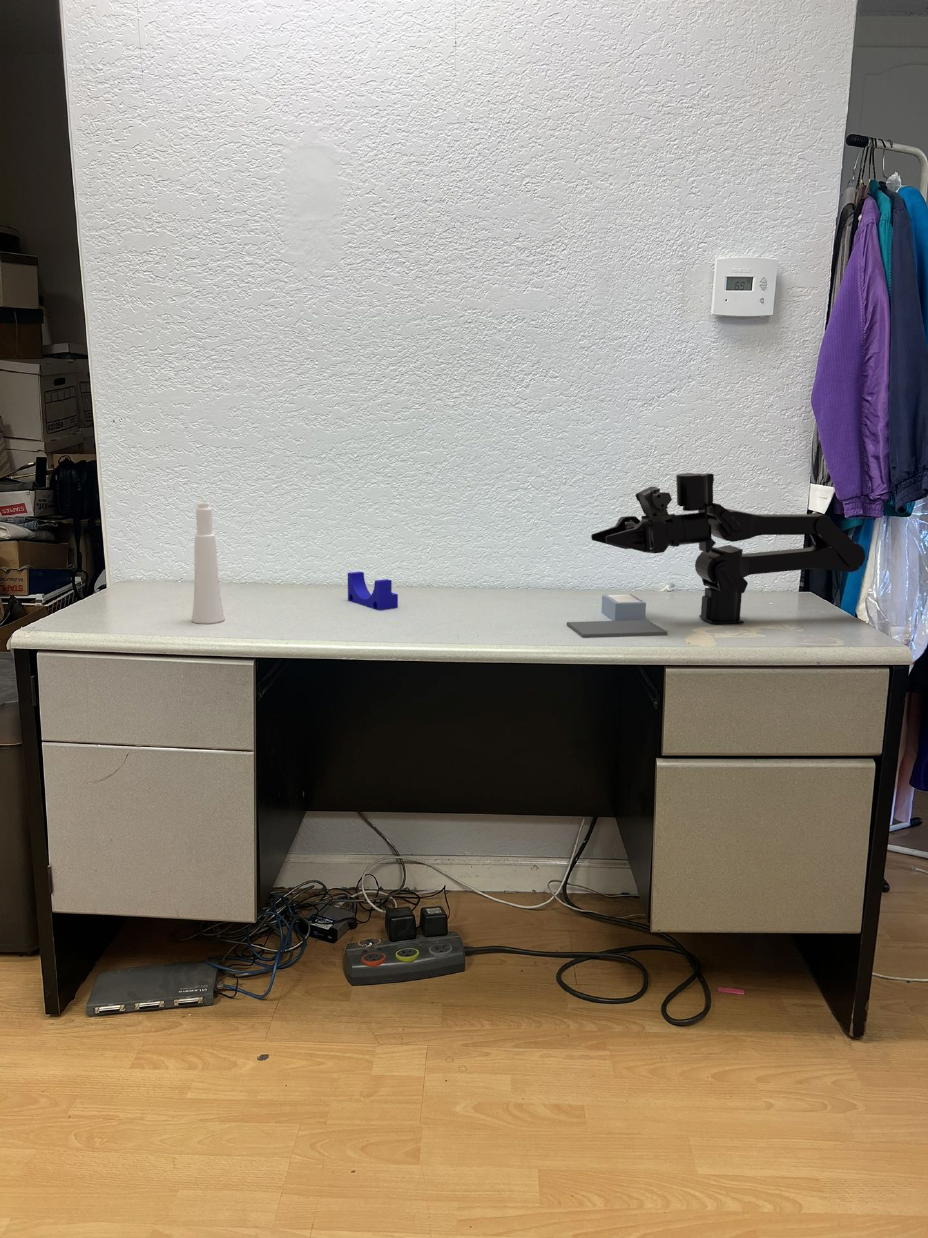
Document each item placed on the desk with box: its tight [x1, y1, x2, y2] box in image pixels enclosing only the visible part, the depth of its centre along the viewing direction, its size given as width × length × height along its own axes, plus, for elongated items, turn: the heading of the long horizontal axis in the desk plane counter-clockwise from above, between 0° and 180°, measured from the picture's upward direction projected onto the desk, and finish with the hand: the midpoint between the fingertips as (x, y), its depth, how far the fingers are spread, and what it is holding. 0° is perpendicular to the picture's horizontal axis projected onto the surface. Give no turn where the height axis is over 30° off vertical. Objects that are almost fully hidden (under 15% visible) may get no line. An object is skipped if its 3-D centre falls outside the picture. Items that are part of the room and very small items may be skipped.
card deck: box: [600, 593, 647, 621], centre depth 194 cm, size 6×9×4 cm, turn 8°
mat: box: [566, 619, 669, 638], centre depth 184 cm, size 16×10×1 cm, turn 101°
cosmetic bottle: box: [191, 501, 226, 625], centre depth 184 cm, size 6×6×22 cm
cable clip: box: [347, 571, 399, 611], centre depth 203 cm, size 12×4×6 cm, turn 37°
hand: (598, 538), depth 185 cm, fingers open, 9 cm apart
